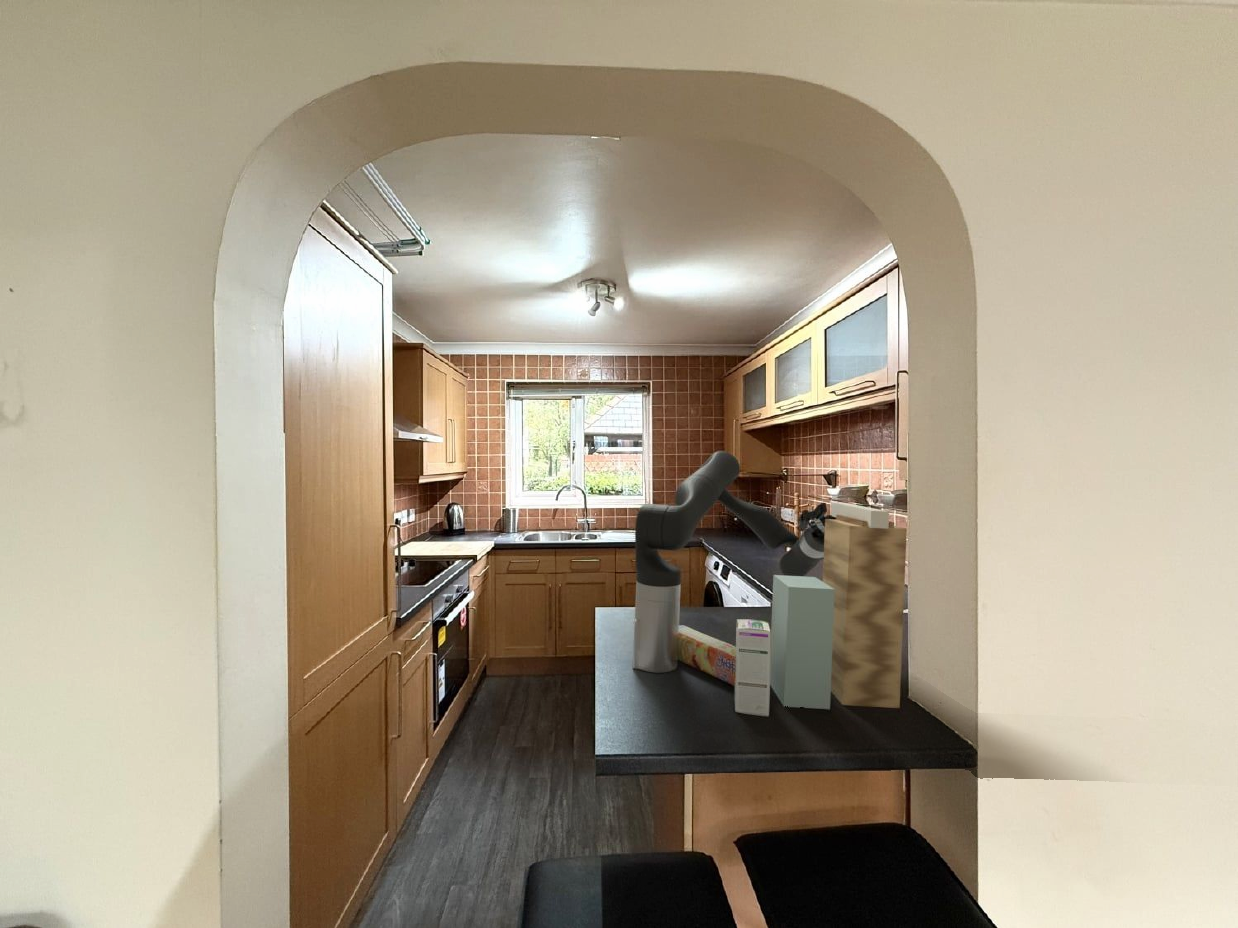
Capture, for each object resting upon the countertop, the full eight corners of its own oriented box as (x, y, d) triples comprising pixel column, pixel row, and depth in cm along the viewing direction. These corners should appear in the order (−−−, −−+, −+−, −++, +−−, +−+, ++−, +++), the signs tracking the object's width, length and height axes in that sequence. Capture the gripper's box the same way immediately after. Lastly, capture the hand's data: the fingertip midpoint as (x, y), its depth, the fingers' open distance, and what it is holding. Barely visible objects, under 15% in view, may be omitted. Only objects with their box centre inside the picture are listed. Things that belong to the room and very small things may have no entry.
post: (783, 706, 90) (788, 586, 90) (769, 682, 100) (773, 574, 100) (829, 709, 90) (834, 589, 90) (810, 684, 100) (814, 576, 100)
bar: (870, 527, 90) (871, 510, 90) (830, 515, 113) (830, 502, 113) (888, 528, 90) (889, 511, 90) (844, 516, 113) (845, 502, 113)
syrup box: (769, 717, 86) (773, 630, 86) (733, 712, 87) (736, 627, 87) (766, 702, 92) (770, 620, 92) (733, 697, 93) (736, 617, 93)
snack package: (763, 686, 99) (765, 651, 99) (741, 694, 95) (743, 658, 95) (684, 651, 116) (686, 621, 116) (663, 657, 112) (664, 626, 112)
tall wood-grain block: (842, 704, 92) (850, 520, 92) (818, 677, 104) (825, 514, 104) (899, 707, 92) (906, 522, 92) (868, 680, 104) (875, 516, 104)
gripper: (787, 521, 122) (808, 489, 108) (847, 524, 122) (877, 492, 108) (790, 551, 119) (813, 522, 105) (853, 554, 118) (884, 525, 104)
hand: (845, 507), depth 106 cm, fingers open, 8 cm apart
